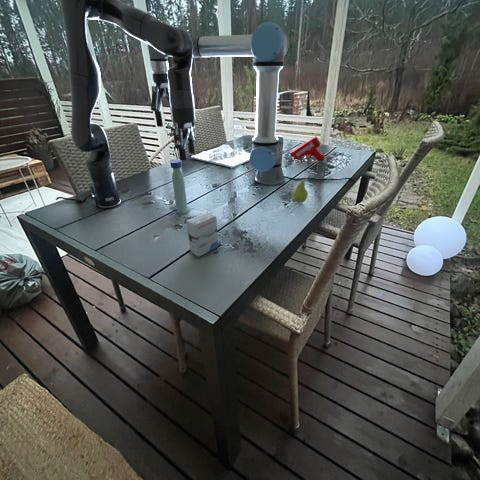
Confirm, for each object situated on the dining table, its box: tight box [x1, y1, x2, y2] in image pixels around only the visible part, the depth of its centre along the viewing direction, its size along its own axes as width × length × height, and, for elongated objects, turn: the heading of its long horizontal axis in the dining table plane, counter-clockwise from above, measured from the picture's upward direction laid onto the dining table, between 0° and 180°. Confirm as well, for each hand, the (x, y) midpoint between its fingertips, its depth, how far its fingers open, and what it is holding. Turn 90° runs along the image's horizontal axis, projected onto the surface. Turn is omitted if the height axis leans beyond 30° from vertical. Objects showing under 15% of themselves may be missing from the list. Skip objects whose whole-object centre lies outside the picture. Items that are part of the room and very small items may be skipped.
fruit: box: [291, 174, 311, 204], centre depth 118 cm, size 7×8×12 cm
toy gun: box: [290, 135, 326, 164], centre depth 171 cm, size 18×4×15 cm
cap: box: [169, 159, 183, 169], centre depth 104 cm, size 4×4×2 cm
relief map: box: [190, 143, 250, 169], centre depth 179 cm, size 27×35×5 cm
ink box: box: [185, 211, 219, 258], centre depth 87 cm, size 8×5×12 cm, turn 134°
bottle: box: [171, 167, 189, 215], centre depth 109 cm, size 5×5×21 cm
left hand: (187, 156), depth 95 cm, fingers open, 8 cm apart
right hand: (167, 124), depth 132 cm, fingers open, 13 cm apart
